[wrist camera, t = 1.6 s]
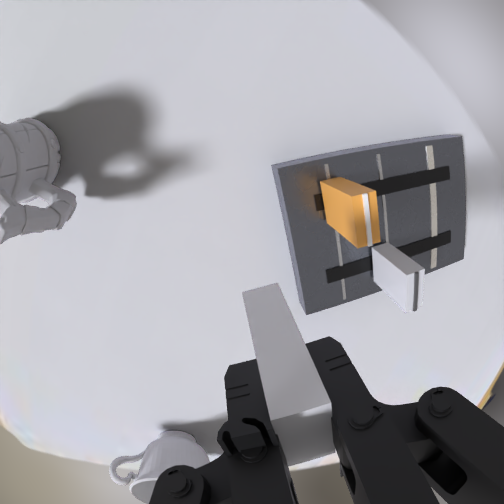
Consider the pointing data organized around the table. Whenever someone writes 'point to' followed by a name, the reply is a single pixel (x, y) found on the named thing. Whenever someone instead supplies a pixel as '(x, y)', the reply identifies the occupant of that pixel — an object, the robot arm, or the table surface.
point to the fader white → (398, 276)
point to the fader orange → (351, 211)
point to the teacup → (159, 461)
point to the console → (389, 211)
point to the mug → (30, 180)
